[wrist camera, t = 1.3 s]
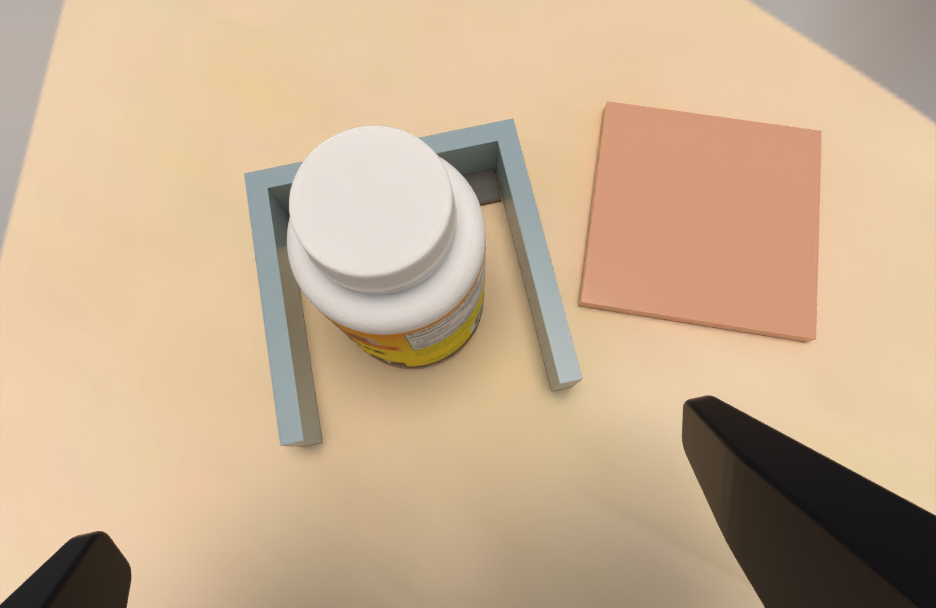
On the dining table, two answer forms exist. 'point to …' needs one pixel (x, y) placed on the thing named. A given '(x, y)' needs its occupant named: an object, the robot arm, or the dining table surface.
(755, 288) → the tile
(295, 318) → the channel
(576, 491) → the dining table surface
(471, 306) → the supplement bottle
